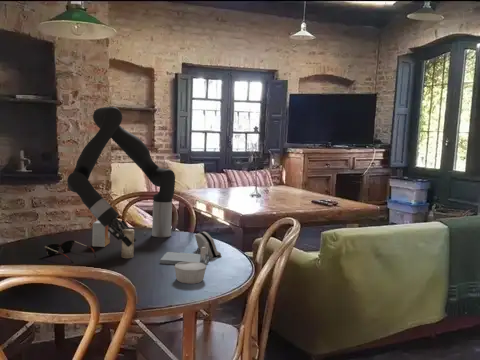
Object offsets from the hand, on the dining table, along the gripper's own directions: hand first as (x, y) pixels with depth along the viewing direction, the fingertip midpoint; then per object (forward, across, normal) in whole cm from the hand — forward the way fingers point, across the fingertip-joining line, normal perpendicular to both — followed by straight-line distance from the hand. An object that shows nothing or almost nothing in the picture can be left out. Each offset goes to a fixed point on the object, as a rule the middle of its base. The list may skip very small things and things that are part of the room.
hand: (132, 243), depth 188 cm
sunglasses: (-12, -5, +21) cm, 24 cm away
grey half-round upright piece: (+24, +15, -16) cm, 33 cm away
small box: (-9, +16, +18) cm, 25 cm away
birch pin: (+3, 0, +5) cm, 6 cm away
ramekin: (+24, -23, -16) cm, 37 cm away
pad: (+20, 0, -12) cm, 23 cm away
